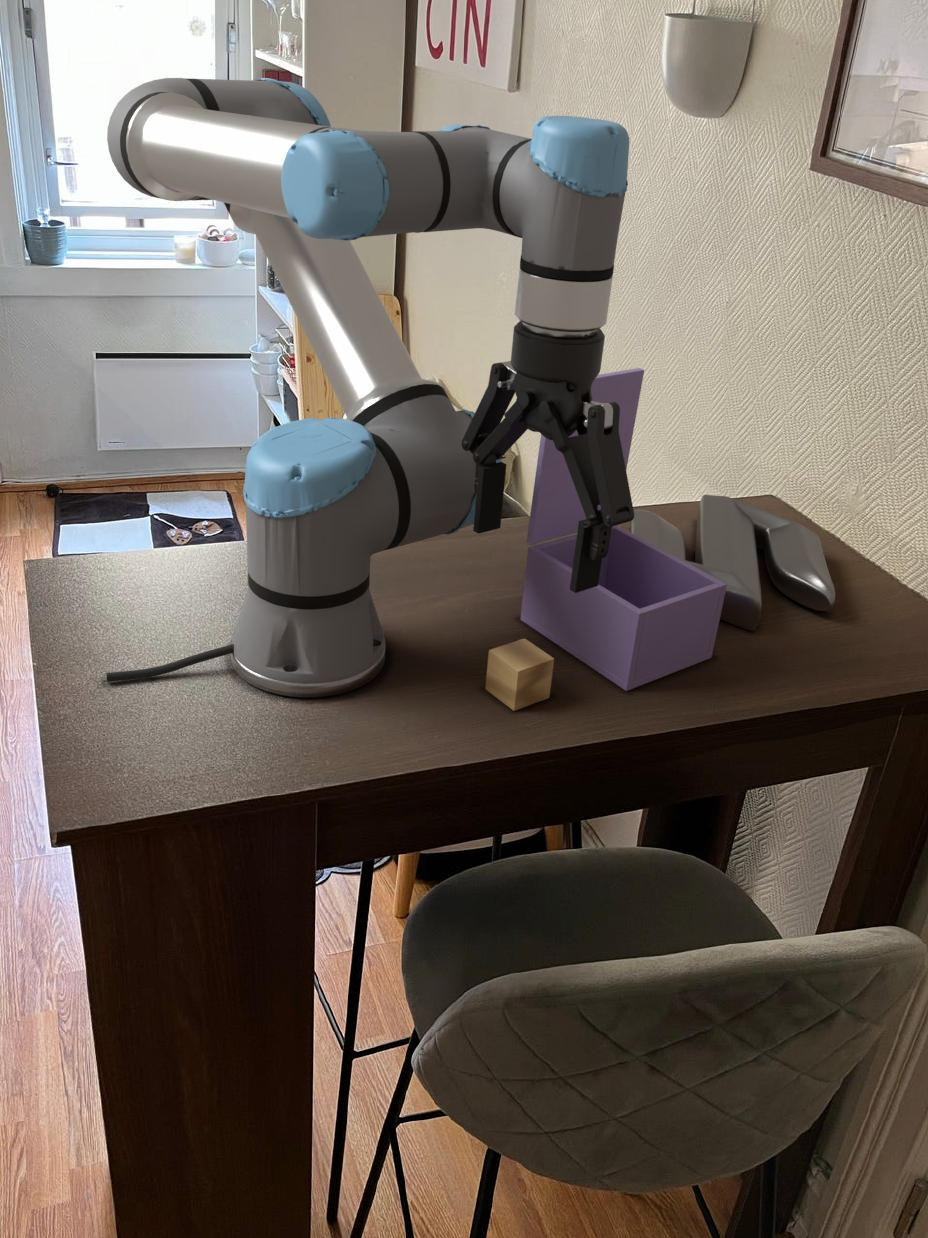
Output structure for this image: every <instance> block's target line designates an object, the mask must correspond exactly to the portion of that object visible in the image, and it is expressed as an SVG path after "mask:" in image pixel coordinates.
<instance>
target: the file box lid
mask: <svg viewBox="0 0 928 1238" xmlns="http://www.w3.org/2000/svg"><path fill="white" fill-rule="evenodd" d="M644 374H645V369H643V368H641V367H637V368H631V369H624V370H618V371H612V372H608V373H607V372H606V373H599V374H598V376H597V377H596V378H595V380H594V381H593V383H592V386H591V394H592V399H593V401H595V402H599V403H603V404H604V403H609V402H616V403H618V405H619V407H620V417H619V435H620V441H621V446H622V451H623V457H624V462H625V467H626V470H627V468H628V463H629V458H630V453H631V446H632V441H633V435H634V431H635V424H636V418H637V413H638V408H639V402H640V397H641V392H642V386H643V380H644ZM574 436H578V432H577V430H576V431H575V432H574V433H573V434H572V435H571V436H569V437H574ZM535 469H536V470H535V477H534V483H533V484H534V485H533V492H532V498H531V506H530V514H529V520H528V527H527V535H526V543H528V544H530V545H534V544H535V545H536V544H539V543H542V542H546V541H549V540H553V539H557V538H560V537H561V538H562V537H564V536H568V535H571V534H575V533H577V532H578V524H579V521H581V520H585V519H587V518H586V516H585V513H584V510H583V507H582V505H581V502H580V499H579V497H578V494H577V491H576V488H575V486H574V483H573V480H572V478H571V475H570V472H569V469H568V467H567V464H566V461H565V458H564V456H563V454H562V452H560V451H558V450H557V449H556V447H555V444H554V442H553V440H549V439H547V438H545V437H544V436H543V435H542V434H541V433H540V441H539V447H538V454H537V463H536V468H535ZM600 509H601V506H600V505H598V510H600Z"/></svg>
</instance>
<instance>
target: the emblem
mask: <svg viewBox="0 0 928 1238" xmlns="http://www.w3.org/2000/svg"><path fill="white" fill-rule="evenodd" d="M633 510H634V519H633V520H632V521H630V522H629V532H630V533H632V534H634V535H636V536H638V537H639V538H641V539H643V540H645V541H647V542H649V543H651V544H653V545H654V546H656V547H658V548H660V549H662V550H664V551H666V552H668V553H669V554H671V555H673V556H675V557H677V558H679V559H681V560H683V561H684V562H686V563H688V564H690V565H692V566H694V567H696V568H698V569H699V570H701V571H703V572H705V573H707V574H709V575H711V576H713V577H714V578H716V579H718V580H720V581H722V582H724V583H726V584H727V587H726V591H725V596H724V601H723V606H722V610H721V615H720V620H721V621H723V622H725V623H729V624H731V625H733V626H736V627H739V628H741V629H743V630H747V631H754V630H756V629H757V627H758V625H759V624H760V620H761V616H762V613H763V612H762V610H763V596H762V587H761V578H760V569H759V566H760V565H759V559H758V550H763V554H764V560H765V566H766V569H767V573H768V576H769V578H770V581H771V582H772V583H773V585H774V586H775V587H776V589H777V590H778V591H779V592H781V593H782V594H783V595H785V596H786V597H788V598H790V599H791V600H793V601H794V602H796V603H798V604H799V605H802V606H804V607H807V608H809V609H811V610H815V611H819V612H828V613H832V611H833V609H834V606H835V601H836V590H835V586H834V582H833V580H832V577H831V574H830V570H829V568H828V565H827V562H826V558H825V554H824V550H823V547H822V543H821V540H820V537H819V535H818V534H817V533H815V532H814V531H812V530H810V529H809V528H807V527H805V526H804V525H802V524H800V523H798V522H797V521H794V520H791V519H788V518H786V517H783V516H780V515H778V514H775V513H772V512H770V511H768V510H764V509H762V508H759V507H757V506H753V505H751V504H750V503H749V504H748V503H747V502H744V501H741V500H738V499H735V498H733V497H730V496H727V495H716V494H715V495H713V494H703V495H702V497H701V498H700V501H699V505H698V510H697V517H696V530H695V531H696V532H695V535H696V536H695V556H694V557H695V559H694V561H695V562H694V561H690V560H687V554H686V553H687V552H686V543H685V538H684V535H683V533H682V531H681V530H680V529H679V528H678V527H676V526H675V525H673V524H672V523H670V522H669V521H667V520H665V519H664V518H663V517H661V516H660V515H658V514H657V513H655V512H652V511H650V510H646V509H633ZM720 620H719V621H720Z"/></svg>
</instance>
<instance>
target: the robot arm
mask: <svg viewBox="0 0 928 1238" xmlns="http://www.w3.org/2000/svg"><path fill="white" fill-rule="evenodd" d="M106 135H107V137H106V141H107V146H108V152H109V156H110V160H111V162H112V163H113V165H114V167H115V169H116V171H117V172H118V174H119V175H120V176H121V178H122V179H123V180H124V181H125V182H126V183H127V184H128V185H129V186H130V187H132V188H133V189H134V190H136V191H138V192H140V193H141V194H142V195H146V196H149V197H150V198H151V197H152V198H156V199H160V200H165V201H170V202H183V201H184V202H186V201H217V202H221V203H223V204H224V206H225V208H226V209H225V210H227V212H228V214H229V216H230V218H231V221H232V222H233V224H234V225H235V226H236V227H237V229H239V230H241V231H242V232H245V233H247V234H251V235H252V234H253V235H255V236H256V239H257V240H258V242H259V244H260V246H261V248H262V251H263V253H264V254H265V257H266V258H267V261H268V262H269V264H270V266H271V269H272V270H273V272H274V274H275V276H276V278H277V280H278V282H279V284H280V286H281V288H282V290H283V292H284V295H285V296H286V298H287V301H288V302H289V304H290V306H291V308H292V310H293V312H294V314H295V316H296V318H297V320H298V322H299V324H300V326H301V328H302V330H303V332H304V334H305V336H306V338H307V340H308V342H309V344H310V346H311V348H312V350H313V352H314V354H315V356H316V358H317V360H318V362H319V364H320V366H321V368H322V370H323V372H324V374H325V376H326V378H327V381H329V384H330V386H331V388H332V390H333V391H334V393H335V396H336V397H337V400H338V401H339V403H340V405H341V408H342V409H343V411H344V413H345V416H346V418H338V417H326V418H324V419H318V418H316V417H310V418H309V417H308V418H302V419H298V420H293V421H289V422H286V423H283V424H280V425H278V426H275V427H273V428H271V429H269V430H268V431H266V432H264V433H263V434H262V435H260V436H259V437H258V438H257V439H256V440H255V441H254V442H253V444H252V445H251V447H250V450H249V451H248V453H247V456H246V459H245V460H246V461H245V474H244V484H243V490H242V494H243V499H244V503H245V525H246V527H245V528H246V556H247V557H246V558H247V559H246V560H247V561H246V562H247V563H246V564H247V590H246V593H245V596H244V599H243V602H242V605H241V608H240V611H239V614H238V618H237V621H236V624H235V626H234V629H233V632H232V635H231V640H230V644H228V645H225V646H221V647H218V648H213V649H211V650H206V651H203V652H199V653H197V654H193V655H190V656H187V657H184V658H181V659H178V660H175V661H173V662H169V663H166V664H162V665H158V666H154V667H149V668H143V669H142V668H141V669H135V670H134V669H133V670H123V671H122V670H121V671H112V672H106V673H105V677H106V682H107V683H109V682H118V681H131V680H139V679H147V678H152V677H157V676H162V675H166V674H169V673H172V672H175V671H179V670H182V669H184V668H187V667H190V666H193V665H196V664H199V663H203V662H206V661H209V660H210V661H211V660H213V659H216V658H220V657H223V656H228V655H230V659H231V660H230V661H231V665H232V667H233V670H234V671H235V672H236V674H237V675H238V676H239V677H241V679H242V680H243V681H245V682H246V683H248V684H249V685H251V686H253V687H255V688H257V689H259V690H262V691H265V692H268V693H272V694H275V695H279V696H286V697H292V698H293V697H294V698H323V697H329V696H336V695H340V694H345V693H348V692H351V691H353V690H356V689H358V688H361V687H362V686H365V685H366V684H368V683H369V682H371V681H372V680H374V679H375V678H376V677H377V676H378V675H379V674H380V672H381V671H382V669H383V667H384V665H385V662H386V660H385V659H386V647H387V645H386V639H385V634H384V630H383V628H382V627H383V626H382V624H381V621H380V619H379V614H378V612H377V609H376V606H375V603H374V600H373V597H372V594H371V590H370V574H371V557H372V555H375V554H378V553H381V552H384V551H388V550H392V549H395V548H399V547H403V546H406V545H410V544H413V543H417V542H421V541H424V540H428V539H431V538H435V537H438V536H442V535H451V534H454V533H455V534H456V533H457V532H459V531H460V530H461V529H464V528H466V527H467V528H468V527H470V526H472V525H473V529H472V531H473V532H474V533H476V534H483V533H486V532H490V531H495V530H498V529H501V525H502V514H503V503H504V495H505V494H504V493H505V485H506V475H507V464H506V463H505V462H503V459H506V458H507V457H506V456H505V454H506V453H507V452H508V451H509V450H510V449H511V448H512V446H514V444H515V443H516V442H517V441H518V440H519V439H520V438H521V437H522V436H523V435H524V434H525V433H526V432H527V431H528V430H529V431H531V432H533V433H540V435H541V434H542V435H543V436H544V437H545V438H547V439H549V440H553V442H554V444H555V447H556V449H557V450H558V451H560V452H562V454H563V456H564V458H565V461H566V464H567V467H568V469H569V472H570V475H571V478H572V480H573V483H574V486H575V488H576V491H577V494H578V497H579V499H580V502H581V505H582V507H583V510H584V513H585V516H586V518H587V519H585V520H581V521H579V524H578V532H576V534H577V539H576V546H575V554H574V561H573V568H572V576H571V583H570V590H571V591H573V592H574V593H577V592H580V591H584V590H587V589H590V588H593V587H596V586H598V583H599V576H600V570H601V563H602V558H605V557H606V556H607V554H608V551H609V544H610V543H609V542H610V537H611V531H612V526H615V525H617V526H619V525H623V524H626V523H630V521H632V520H633V519H634V510H635V509H634V504H633V499H632V495H631V489H630V483H629V479H628V474H627V469H626V467H625V462H624V457H623V451H622V446H621V441H620V435H619V417H620V407H619V405H618V403H616V402H609V403H604V404H603V403H599V402H595V401H593V399H592V394H591V386H592V383H593V381H594V380H595V378H596V377H597V376H598V375H600V374H601V373H600V372H601V370H602V362H603V354H604V347H605V338H606V335H605V333H603V330H602V329H601V328H603V327H604V326H605V325H606V324H607V319H608V313H609V306H610V299H611V291H612V285H613V279H614V270H615V259H616V250H617V245H618V238H619V232H620V228H621V227H620V226H621V220H622V215H623V209H624V202H625V197H626V192H627V191H628V185H629V181H628V170H629V157H630V156H629V154H630V136H629V133H628V131H627V129H626V128H625V127H624V126H623V125H622V124H620V123H618V122H615V121H611V120H607V119H599V118H595V119H594V118H588V117H584V116H570V115H546V116H542V117H539V118H538V119H537V120H536V121H535V124H534V125H533V129H532V136H531V138H529V137H525V136H520V135H515V134H511V133H507V132H504V131H499V130H494V129H491V128H490V127H488V126H484V125H480V124H478V125H468V124H465V125H464V124H463V125H462V124H451V125H447V126H444V127H442V128H441V129H440V130H421V131H420V130H419V131H416V130H414V131H382V130H381V131H380V130H379V131H374V130H359V129H353V128H352V129H351V128H346V127H345V128H344V127H336V126H332V125H331V122H330V120H329V117H328V115H327V112H326V111H325V109H324V107H323V105H322V104H321V102H320V101H319V100H318V98H316V97H315V95H313V94H312V92H310V90H309V89H307V88H305V87H304V86H302V85H300V84H297V83H295V82H291V81H281V80H278V79H274V78H269V77H268V78H267V77H260V78H259V77H258V78H254V79H252V80H250V79H248V80H247V79H215V78H212V79H211V78H185V77H164V78H159V79H153V80H150V81H147V82H143V83H141V84H140V85H138V86H136V87H133V88H132V89H131V90H129V91H128V92H127V93H126V94H124V95H123V97H121V99H120V100H119V101H118V102H117V103H116V105H115V107H114V108H113V110H112V113H111V114H110V117H109V120H108V125H107V133H106ZM473 229H482V230H483V229H484V230H490V231H491V230H492V231H495V232H499V233H503V234H507V235H509V236H512V237H516V238H519V239H522V240H521V253H520V261H519V271H518V279H517V288H516V299H515V308H514V315H515V316H516V318H517V319H518V320H519V321H518V322H517V323H516V324H515V325H514V326H513V333H512V345H511V355H510V360H508V361H502V362H494V363H492V365H491V367H490V372H489V378H488V385H487V387H486V389H485V391H484V393H483V396H482V397H481V400H480V402H479V404H478V406H477V407H476V410H475V412H474V411H473V410H472V411H471V410H468V409H461V410H456V408H455V406H454V405H453V403H452V401H451V399H450V398H449V396H448V394H447V391H446V390H445V388H444V387H443V385H442V384H441V383H439V382H438V381H434V380H429V379H425V378H422V376H421V374H420V372H419V370H418V369H417V366H416V365H415V363H414V361H413V359H412V357H411V355H410V353H409V351H408V350H407V347H406V345H405V344H404V342H403V340H402V338H401V336H400V334H399V333H398V330H397V328H396V326H395V325H394V322H393V321H392V318H391V317H390V315H389V313H388V311H387V309H386V307H385V305H384V303H383V301H382V299H381V297H380V296H379V294H378V292H377V290H376V287H375V286H374V284H373V281H371V278H370V277H369V274H368V272H367V270H366V269H365V267H364V264H363V262H362V261H361V259H360V257H359V255H358V253H357V251H356V249H355V247H354V246H353V243H352V242H351V241H356V240H357V239H360V238H367V237H379V236H390V235H400V234H412V233H415V234H418V233H419V234H420V233H433V232H434V233H435V232H446V231H447V232H448V231H460V230H473ZM514 396H515V397H516V399H515V401H514V403H513V404H512V405H511V406H510V404H511V402H512V400H513V398H514ZM509 406H510V407H509ZM576 430H577V432H578V436H574V437H569V436H571V435H572V434H573V433H574V432H575V431H576ZM598 505H600V506H601V509H600V510H598Z"/></svg>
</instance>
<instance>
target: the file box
mask: <svg viewBox="0 0 928 1238" xmlns="http://www.w3.org/2000/svg"><path fill="white" fill-rule="evenodd" d="M576 539H577V533H576V534H573V535H569V536H565V537H561V538H558V539H554V540H551V541H547V542H543V543H538V544H535V545H531V546H529V547H528V548H527V556H526V565H525V573H524V583H523V592H522V599H521V600H522V601H521V610H520V621H522V622H523V623H525V624H526V625H527V626H528V627H530V628H532V629H533V630H535V631H537V633H539V634H541V635H542V636H544V637H545V638H546V639H548V640H549V641H551V642H553V643H554V644H556V645H557V646H559V647H560V648H561V649H563V650H565V651H566V652H568V653H569V654H570V655H572V656H573V657H575V658H576V659H578V660H579V661H580V662H582V663H584V664H586V665H587V666H588V667H590V668H591V669H592V670H594V671H596V672H597V673H598V674H600V675H602V676H603V677H604V678H606V679H607V680H609V681H610V682H611V683H614V684H615V685H617V686H618V687H619V688H621V689H623V690H624V691H626V692H627V691H630V690H632V689H636V688H638V687H641V686H643V685H646V684H649V683H650V682H653V681H656V680H658V679H661V678H663V677H666V676H669V675H671V674H674V673H676V672H680V671H681V670H685V669H686V668H689V667H692V666H694V665H697V664H699V663H702V662H705V661H707V660H709V659H712V657H713V653H714V652H713V651H714V647H715V643H716V638H717V634H718V628H719V623H720V615H721V610H722V606H723V601H724V596H725V591H726V587H727V584H726V583H724V582H722V581H720V580H718V579H716V578H714V577H713V576H711V575H709V574H707V573H705V572H703V571H701V570H699V569H698V568H696V567H694V566H692V565H690V564H688V563H686V562H684V561H683V560H681V559H679V558H677V557H675V556H673V555H671V554H669V553H668V552H666V551H664V550H662V549H660V548H658V547H656V546H654V545H653V544H651V543H649V542H647V541H645V540H643V539H641V538H639V537H638V536H636V535H634V534H632V533H630V531H628V530H627V529H625V528H623V527H621V526H619V525H615V526H612V531H611V537H610V542H609V543H610V544H609V551H608V554H607V556H606V557H605V558H602V563H601V570H600V576H599V583H598V586H596V587H593V588H590V589H587V590H584V591H580V592H577V593H574V592H573V591H571V590H570V583H571V576H572V568H573V561H574V554H575V546H576Z"/></svg>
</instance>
